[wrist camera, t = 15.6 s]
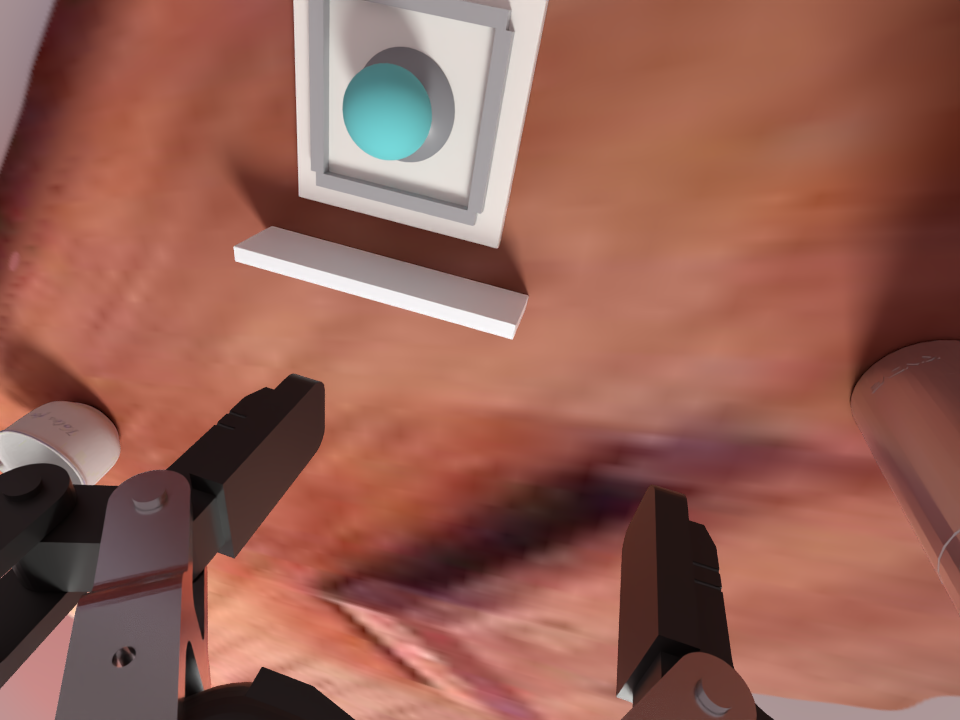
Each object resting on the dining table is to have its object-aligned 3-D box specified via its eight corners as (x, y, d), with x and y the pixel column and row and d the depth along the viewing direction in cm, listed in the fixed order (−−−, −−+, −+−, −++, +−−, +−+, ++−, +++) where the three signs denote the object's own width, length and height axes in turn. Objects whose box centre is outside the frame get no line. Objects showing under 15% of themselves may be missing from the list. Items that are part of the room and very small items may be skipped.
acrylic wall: (528, 295, 41) (516, 325, 37) (525, 308, 42) (512, 339, 38) (272, 225, 44) (233, 246, 40) (272, 239, 44) (235, 261, 40)
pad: (551, -14, 31) (547, -16, 29) (499, 244, 40) (495, 252, 38) (298, -64, 33) (284, -68, 31) (304, 193, 42) (293, 199, 40)
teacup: (111, 391, 61) (46, 435, 54) (150, 463, 66) (96, 511, 60) (22, 384, 65) (-48, 425, 58) (66, 453, 70) (7, 497, 64)
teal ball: (460, 103, 34) (430, 116, 30) (414, 167, 37) (380, 188, 33) (394, 39, 33) (354, 43, 29) (352, 110, 36) (310, 124, 32)
